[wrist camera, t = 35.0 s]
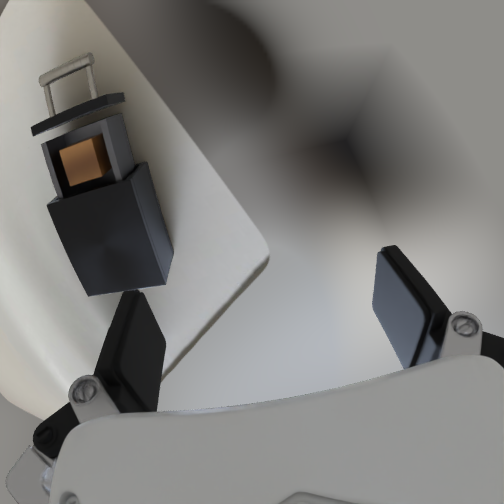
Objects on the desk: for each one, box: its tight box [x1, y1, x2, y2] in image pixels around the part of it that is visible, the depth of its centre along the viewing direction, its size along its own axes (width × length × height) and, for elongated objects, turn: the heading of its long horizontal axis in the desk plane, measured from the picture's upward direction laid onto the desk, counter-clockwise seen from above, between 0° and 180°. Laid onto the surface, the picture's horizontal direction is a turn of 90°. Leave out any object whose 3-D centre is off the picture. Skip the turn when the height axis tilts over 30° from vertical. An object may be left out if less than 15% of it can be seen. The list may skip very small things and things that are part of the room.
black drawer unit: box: [47, 162, 174, 296], centre depth 36 cm, size 14×12×8 cm
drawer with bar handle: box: [31, 52, 136, 199], centre depth 29 cm, size 18×10×6 cm, turn 8°
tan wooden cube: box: [59, 133, 112, 186], centre depth 30 cm, size 4×4×4 cm
